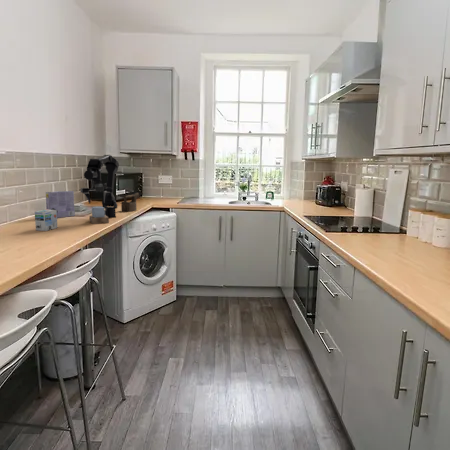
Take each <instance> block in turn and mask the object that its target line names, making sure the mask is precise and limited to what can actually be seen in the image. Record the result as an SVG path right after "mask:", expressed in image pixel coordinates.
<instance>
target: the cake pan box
mask: <svg viewBox="0 0 450 450" xmlns="http://www.w3.org/2000/svg"><path fill="white" fill-rule="evenodd" d="M74 193H75V191H74V190H64V191H63V190H62V191H61V190H60V191H45V207H46V208H45V210H46V209H49V210H57V219H59V218H66V217H74V216H76V211H75V210H76V209H75V194H74Z"/></svg>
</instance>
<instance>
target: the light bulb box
mask: <svg viewBox="0 0 450 450" xmlns="http://www.w3.org/2000/svg"><path fill="white" fill-rule="evenodd" d="M34 224H35V231H39V232H41V231H42V232H48V231H51V229H52V230H55V229H58V218H57V210H49V209H46V208H45V209H41V210H37V211H34Z"/></svg>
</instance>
